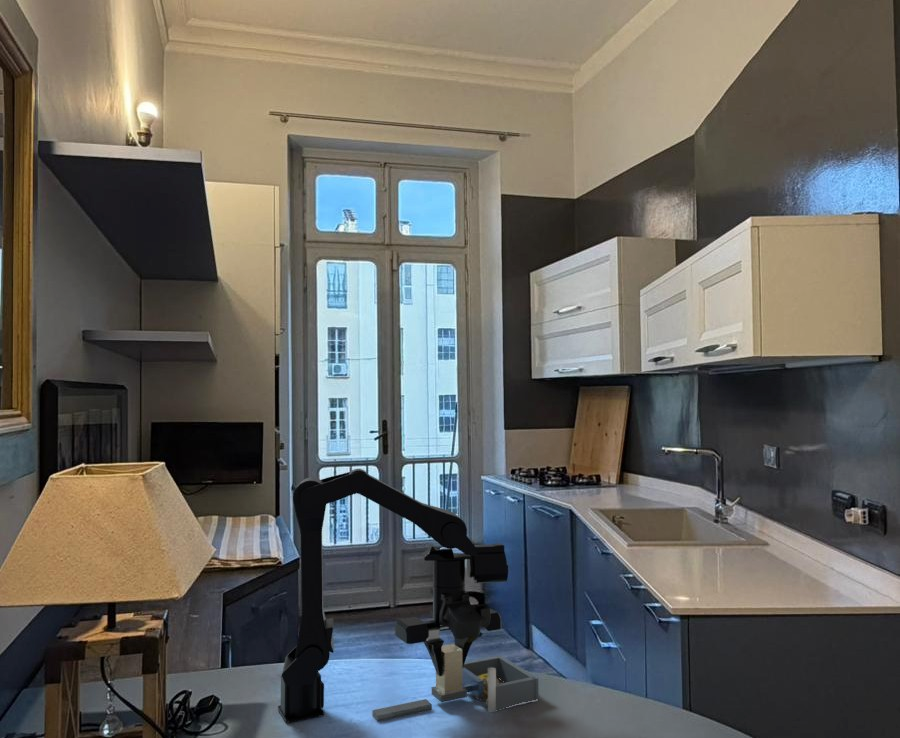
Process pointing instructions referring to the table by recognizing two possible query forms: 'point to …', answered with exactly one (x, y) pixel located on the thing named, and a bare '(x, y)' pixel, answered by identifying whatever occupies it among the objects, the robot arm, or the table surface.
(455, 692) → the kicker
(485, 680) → the fruit
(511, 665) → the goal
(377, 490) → the robot arm
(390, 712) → the rail
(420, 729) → the table surface
